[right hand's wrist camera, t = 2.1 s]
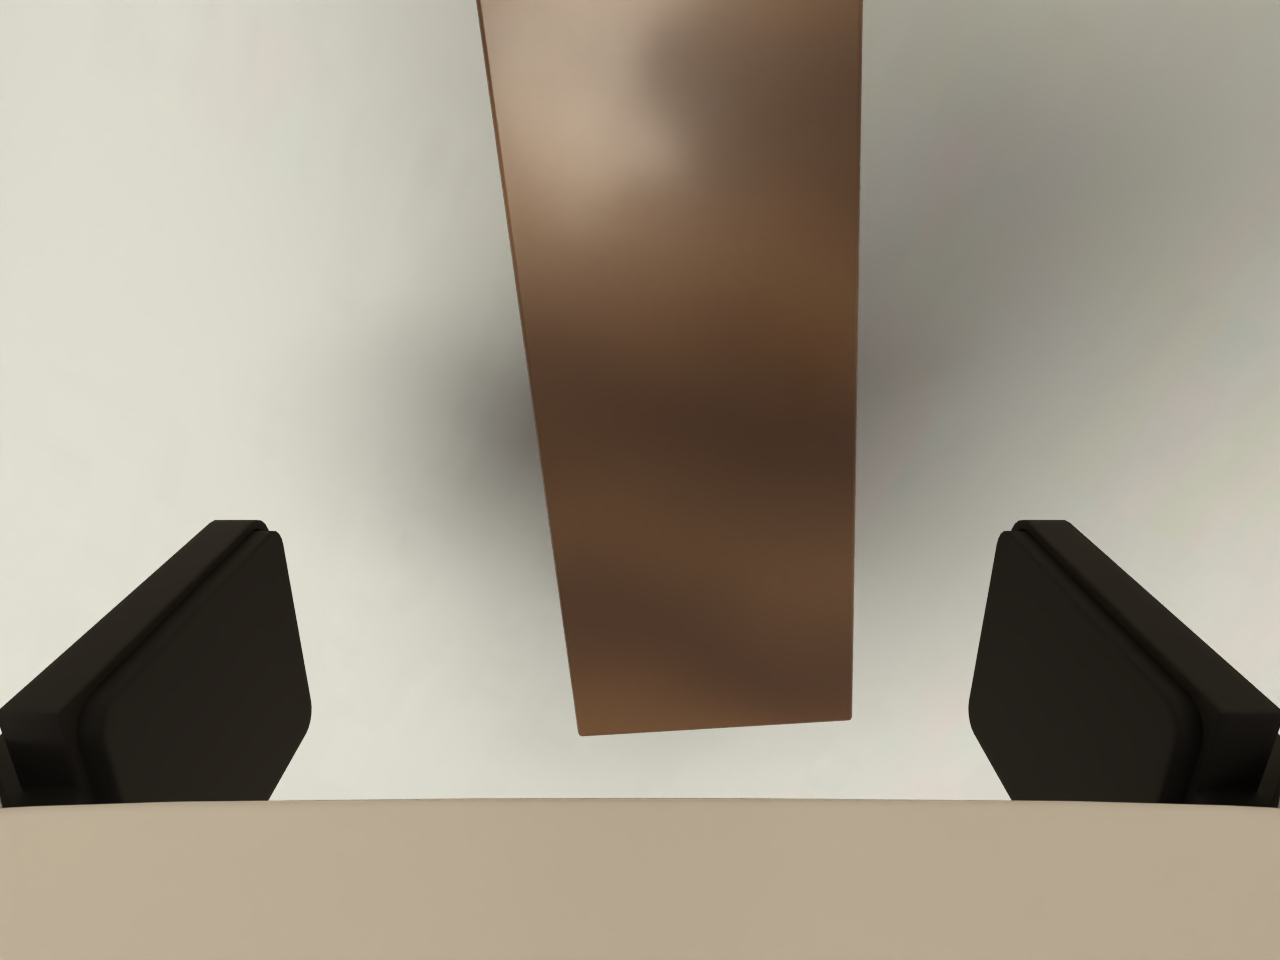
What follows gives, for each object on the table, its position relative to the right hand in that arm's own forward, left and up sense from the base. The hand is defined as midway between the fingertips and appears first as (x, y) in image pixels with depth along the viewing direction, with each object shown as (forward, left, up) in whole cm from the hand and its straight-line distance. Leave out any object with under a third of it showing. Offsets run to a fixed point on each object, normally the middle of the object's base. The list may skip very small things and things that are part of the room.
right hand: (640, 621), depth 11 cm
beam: (+8, -28, -13) cm, 32 cm away
